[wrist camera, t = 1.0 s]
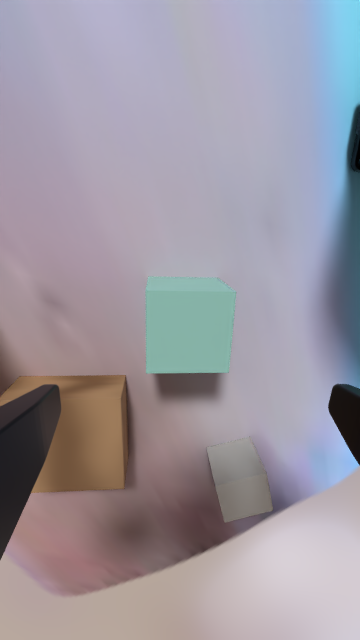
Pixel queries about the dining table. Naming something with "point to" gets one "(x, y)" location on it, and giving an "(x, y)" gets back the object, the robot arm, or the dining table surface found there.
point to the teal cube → (188, 325)
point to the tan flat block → (83, 432)
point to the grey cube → (239, 479)
